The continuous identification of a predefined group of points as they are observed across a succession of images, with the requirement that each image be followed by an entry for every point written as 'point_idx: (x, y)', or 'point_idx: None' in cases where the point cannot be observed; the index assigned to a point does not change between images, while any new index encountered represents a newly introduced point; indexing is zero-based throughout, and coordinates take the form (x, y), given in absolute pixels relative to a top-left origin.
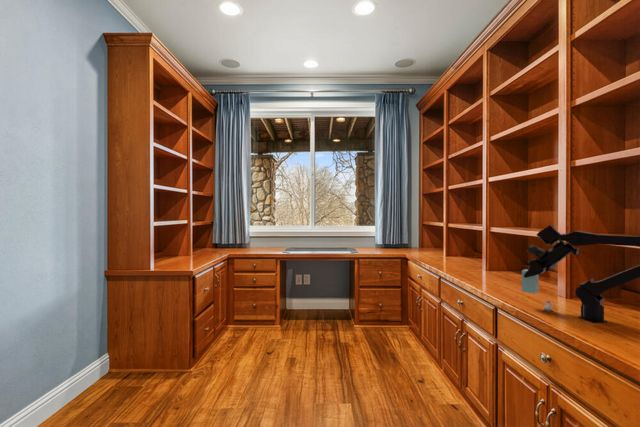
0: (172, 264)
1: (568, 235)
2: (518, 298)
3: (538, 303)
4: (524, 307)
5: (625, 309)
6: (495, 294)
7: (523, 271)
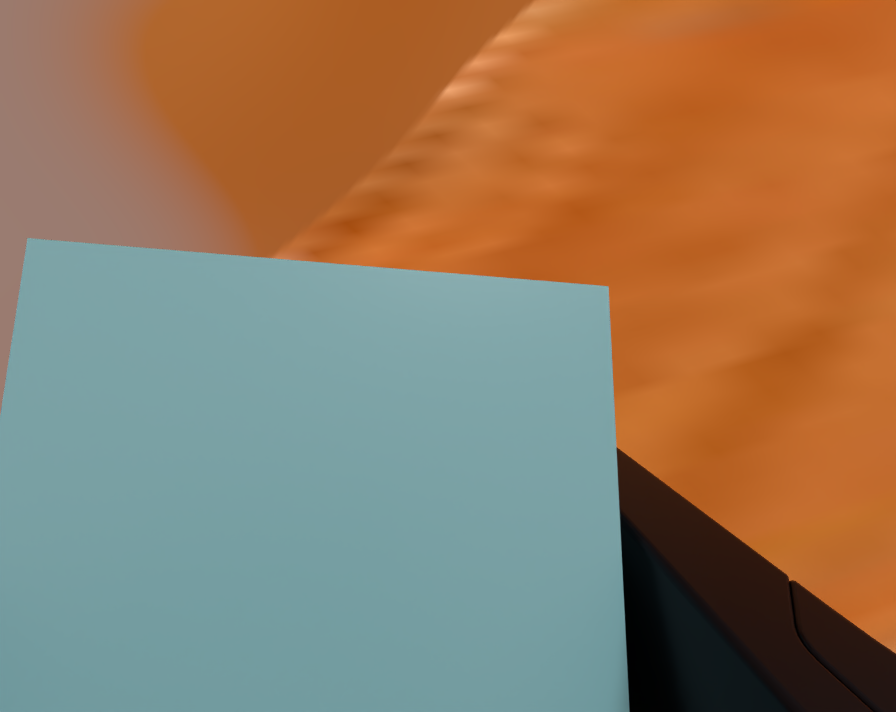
0: None
1: None
2: (645, 285)
3: None
4: None
5: None
6: (616, 47)
7: (32, 331)
